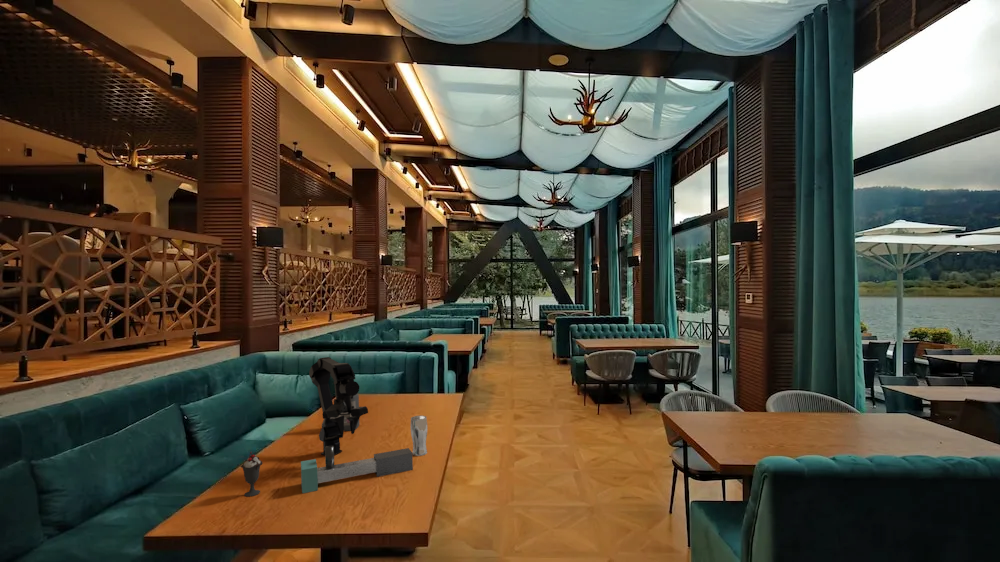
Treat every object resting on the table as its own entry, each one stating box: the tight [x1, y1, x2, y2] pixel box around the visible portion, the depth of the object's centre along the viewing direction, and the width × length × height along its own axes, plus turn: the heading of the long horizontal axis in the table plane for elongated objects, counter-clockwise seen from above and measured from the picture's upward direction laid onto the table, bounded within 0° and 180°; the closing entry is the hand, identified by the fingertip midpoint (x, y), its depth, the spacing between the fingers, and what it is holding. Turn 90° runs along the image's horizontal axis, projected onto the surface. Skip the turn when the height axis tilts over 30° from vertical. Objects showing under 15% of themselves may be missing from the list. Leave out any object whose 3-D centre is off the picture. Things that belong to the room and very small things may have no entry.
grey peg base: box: [317, 445, 377, 484], centre depth 169 cm, size 25×4×12 cm, turn 115°
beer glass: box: [410, 415, 428, 457], centre depth 194 cm, size 7×7×15 cm
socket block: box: [300, 458, 319, 494], centre depth 164 cm, size 5×9×8 cm, turn 25°
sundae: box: [240, 451, 263, 498], centre depth 160 cm, size 7×7×15 cm
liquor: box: [341, 392, 360, 432], centre depth 234 cm, size 9×9×30 cm
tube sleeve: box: [373, 447, 414, 478], centre depth 176 cm, size 13×6×6 cm, turn 115°
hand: (347, 434), depth 186 cm, fingers open, 5 cm apart
